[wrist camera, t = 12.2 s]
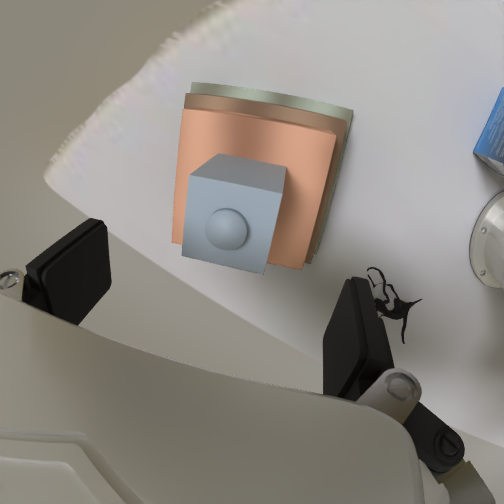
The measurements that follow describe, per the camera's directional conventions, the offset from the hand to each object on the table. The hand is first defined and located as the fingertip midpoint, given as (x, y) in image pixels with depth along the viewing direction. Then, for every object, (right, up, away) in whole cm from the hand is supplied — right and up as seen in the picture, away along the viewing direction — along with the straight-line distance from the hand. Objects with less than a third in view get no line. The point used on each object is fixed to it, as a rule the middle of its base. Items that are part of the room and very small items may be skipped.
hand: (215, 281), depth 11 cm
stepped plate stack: (+2, +9, +17) cm, 19 cm away
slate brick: (+1, +5, +9) cm, 11 cm away
